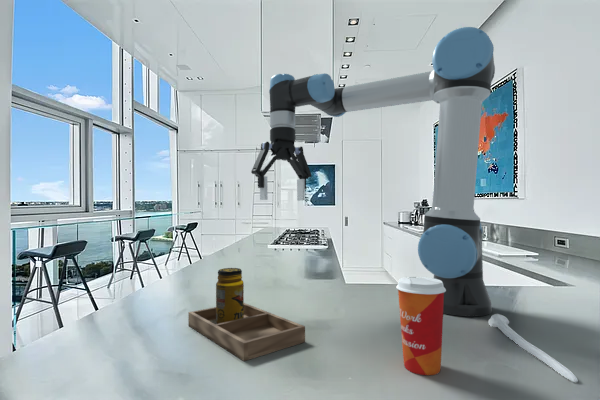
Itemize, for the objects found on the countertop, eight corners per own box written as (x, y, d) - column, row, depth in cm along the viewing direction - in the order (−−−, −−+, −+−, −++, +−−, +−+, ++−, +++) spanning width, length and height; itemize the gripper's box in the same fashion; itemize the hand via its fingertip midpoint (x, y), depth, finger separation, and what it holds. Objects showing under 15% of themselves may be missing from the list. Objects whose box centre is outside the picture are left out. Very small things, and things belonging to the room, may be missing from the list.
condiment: (250, 325, 77) (250, 270, 77) (212, 332, 72) (212, 274, 73) (237, 316, 83) (237, 265, 83) (201, 323, 78) (201, 269, 79)
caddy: (305, 341, 68) (305, 326, 68) (243, 361, 60) (243, 343, 60) (241, 314, 87) (241, 302, 87) (188, 325, 79) (188, 312, 79)
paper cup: (390, 358, 60) (389, 276, 61) (433, 356, 61) (432, 275, 61) (408, 380, 52) (406, 286, 53) (457, 377, 53) (455, 284, 54)
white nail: (599, 387, 51) (598, 367, 51) (569, 386, 51) (568, 366, 51) (504, 324, 79) (504, 312, 79) (485, 324, 79) (485, 312, 79)
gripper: (306, 136, 115) (307, 201, 114) (239, 124, 99) (239, 199, 99) (322, 132, 109) (322, 200, 108) (253, 119, 93) (253, 199, 93)
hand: (283, 200), depth 103 cm, fingers open, 13 cm apart
